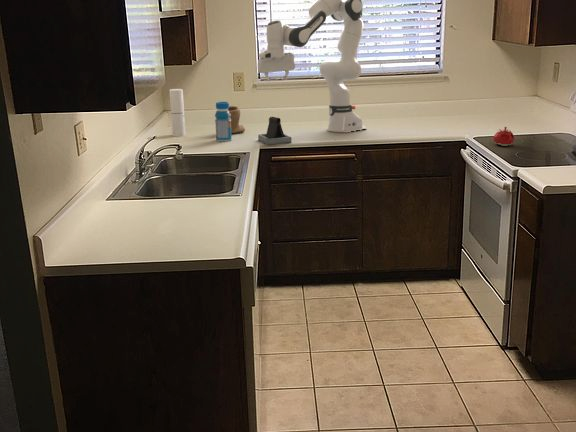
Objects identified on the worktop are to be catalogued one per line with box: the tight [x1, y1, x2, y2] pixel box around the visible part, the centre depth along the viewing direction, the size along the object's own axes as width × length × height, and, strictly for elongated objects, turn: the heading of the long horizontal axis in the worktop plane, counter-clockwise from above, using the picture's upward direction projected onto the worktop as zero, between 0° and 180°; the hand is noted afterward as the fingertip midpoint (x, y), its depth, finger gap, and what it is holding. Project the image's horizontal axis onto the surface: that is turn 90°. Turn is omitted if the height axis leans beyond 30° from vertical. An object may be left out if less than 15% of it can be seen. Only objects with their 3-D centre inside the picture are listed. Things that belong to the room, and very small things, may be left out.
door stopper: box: [265, 116, 285, 139], centre depth 333 cm, size 9×6×12 cm, turn 130°
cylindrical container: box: [169, 88, 187, 137], centre depth 351 cm, size 7×7×25 cm
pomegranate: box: [492, 126, 515, 144], centre depth 316 cm, size 10×10×9 cm
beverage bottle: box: [214, 101, 233, 143], centre depth 336 cm, size 8×8×20 cm
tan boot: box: [228, 105, 246, 134], centre depth 356 cm, size 15×12×15 cm
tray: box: [257, 133, 292, 146], centre depth 334 cm, size 13×14×3 cm
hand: (277, 80), depth 337 cm, fingers open, 8 cm apart
